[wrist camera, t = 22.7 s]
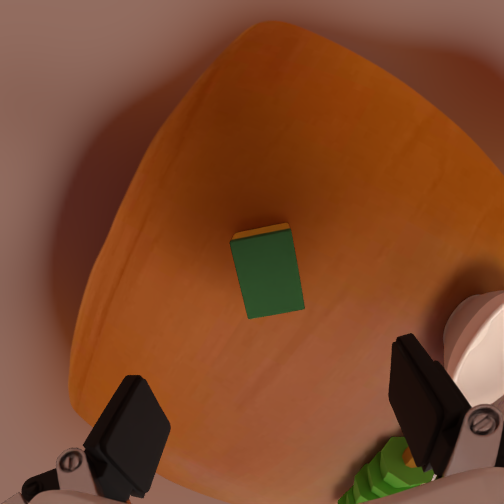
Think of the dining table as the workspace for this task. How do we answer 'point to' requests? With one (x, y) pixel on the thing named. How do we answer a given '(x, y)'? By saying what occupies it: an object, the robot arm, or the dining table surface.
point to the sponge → (267, 270)
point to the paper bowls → (500, 405)
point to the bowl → (477, 347)
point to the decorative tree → (387, 474)
